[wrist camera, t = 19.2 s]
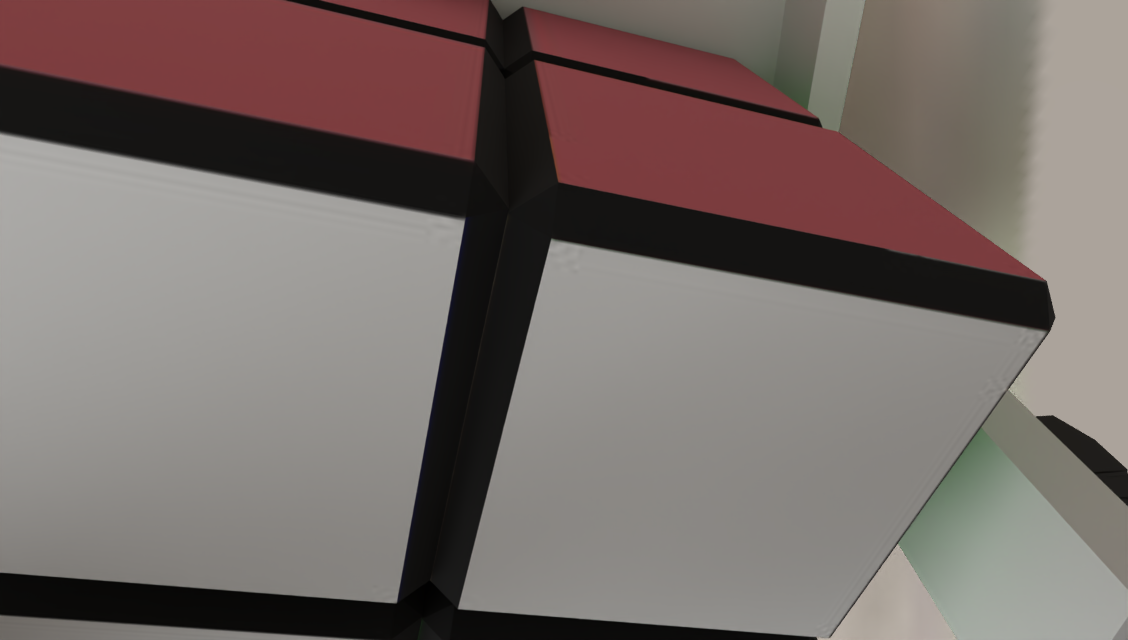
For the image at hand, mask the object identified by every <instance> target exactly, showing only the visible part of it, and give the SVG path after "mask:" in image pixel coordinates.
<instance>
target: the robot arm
mask: <svg viewBox="0 0 1128 640" xmlns="http://www.w3.org/2000/svg"><path fill="white" fill-rule="evenodd" d="M898 544H899V546H900V547H901V549H902V550H903V552H904V554H905V555H906V557H907V559H908V560H909V562H910V563H911V565H912V567H913V568H914V570H915V572H916V573H917V575H918V576H919V578H920V580H921V581H922V583H923V585H924V586H925V588H926V589H927V591H928V593H929V594H930V596H931V598H932V599H933V601H934V602H935V604H936V606H937V607H938V609H939V611H940V612H941V614H942V615H943V617H944V619H945V620H946V622H947V624H948V625H949V627H950V628H951V630H952V632H953V633H954V635H955V637H956V638H957V640H1128V473H1127V469H1126V468H1125V467H1124V466H1123V465H1122V464H1121V463H1120V462H1119V461H1118V460H1116V459H1115V458H1114V457H1113V456H1112V455H1111V454H1110V453H1109V452H1107V451H1106V450H1105V449H1104V448H1103V447H1102V446H1101V445H1100V444H1099V443H1098V442H1097V441H1096V440H1094V439H1093V438H1091V437H1089V436H1087V435H1086V434H1084V433H1082V432H1081V431H1079V430H1077V429H1075V428H1074V427H1072V426H1070V425H1069V424H1067V423H1065V422H1063V421H1062V420H1060V419H1058V418H1056V417H1055V416H1053V415H1052V416H1036V417H1035V416H1034V415H1033V414H1032V413H1031V412H1030V411H1029V410H1028V409H1027V408H1026V407H1025V406H1024V405H1023V404H1022V403H1021V402H1020V401H1019V400H1018V399H1017V398H1016V397H1015V396H1014V395H1013V394H1012V393H1011V392H1010V391H1009V390H1008V391H1007V392H1006V393H1005V395H1004V396H1003V397H1002V399H1001V400H1000V402H999V403H998V404H997V406H996V407H995V409H994V410H993V411H992V413H991V414H990V416H989V417H988V418H987V420H986V421H985V423H984V424H983V425H982V427H981V428H980V430H979V431H978V432H977V434H976V435H975V437H974V438H973V439H972V441H971V442H970V443H969V445H968V446H967V448H966V449H965V450H964V452H963V453H962V455H961V456H960V457H959V459H958V460H957V462H956V463H955V464H954V466H953V467H952V469H951V470H950V471H949V473H948V474H947V476H946V477H945V478H944V480H943V481H942V483H941V484H940V485H939V487H938V488H937V489H936V491H935V492H934V494H933V495H932V496H931V498H930V499H929V501H928V502H927V503H926V505H925V506H924V508H923V509H922V510H921V512H920V513H919V515H918V516H917V517H916V519H915V520H914V522H913V523H912V524H911V526H910V527H909V529H908V530H907V531H906V533H905V534H904V536H903V537H902V538H901V540H900V541H899V542H898Z"/></svg>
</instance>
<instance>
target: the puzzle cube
mask: <svg viewBox="0 0 1128 640" xmlns="http://www.w3.org/2000/svg"><path fill="white" fill-rule="evenodd" d="M1054 320H1055V314H1054V310H1053V306H1052V301H1051V297H1050V293H1049V289H1048V285H1047V281H1046V280H1044V279H1043V278H1041V277H1040V276H1039V275H1037V274H1036V273H1034V272H1033V271H1032V270H1030V269H1029V268H1027V267H1026V266H1025V265H1023V264H1022V263H1021V262H1019V261H1018V260H1016V259H1015V258H1014V257H1012V256H1011V255H1009V254H1008V253H1007V252H1005V251H1004V250H1002V249H1001V248H1000V247H998V246H997V245H995V244H994V243H993V242H991V241H990V240H988V239H987V238H986V237H984V236H983V235H981V234H980V233H979V232H977V231H976V230H974V229H973V228H972V227H970V226H969V225H967V224H966V223H965V222H963V221H962V220H960V219H959V218H958V217H956V216H955V215H953V214H952V213H951V212H949V211H948V210H946V209H945V208H944V207H942V206H941V205H939V204H938V203H937V202H935V201H934V200H932V199H931V198H930V197H928V196H927V195H925V194H924V193H923V192H921V191H920V190H918V189H917V188H916V187H914V186H913V185H911V184H910V183H909V182H907V181H906V180H904V179H903V178H902V177H900V176H899V175H897V174H896V173H895V172H893V171H892V170H890V169H889V168H888V167H886V166H885V165H883V164H882V163H881V162H879V161H878V160H876V159H875V158H874V157H872V156H871V155H869V154H868V153H867V152H865V151H864V150H862V149H861V148H860V147H858V146H857V145H855V144H854V143H853V142H851V141H850V140H848V139H847V138H846V137H844V136H843V135H841V134H840V133H839V132H837V131H833V130H829V129H825V128H823V127H822V124H821V122H820V119H819V118H818V117H817V116H815V115H814V114H812V113H811V112H810V111H808V110H807V109H805V108H804V107H802V106H801V105H799V104H798V103H797V102H795V101H794V100H792V99H791V98H789V97H788V96H787V95H785V94H784V93H782V92H781V91H779V90H778V89H777V88H775V87H774V86H772V85H771V84H769V83H768V82H766V81H765V80H764V79H762V78H761V77H759V76H758V75H756V74H755V73H754V72H752V71H751V70H749V69H748V68H746V67H745V66H744V65H742V64H741V63H739V62H738V61H736V60H735V59H733V58H729V57H725V56H721V55H717V54H713V53H709V52H705V51H701V50H697V49H693V48H689V47H685V46H681V45H677V44H672V43H668V42H664V41H660V40H656V39H652V38H648V37H644V36H640V35H636V34H632V33H628V32H624V31H620V30H616V29H612V28H608V27H604V26H600V25H596V24H592V23H588V22H584V21H580V20H576V19H572V18H568V17H564V16H560V15H556V14H552V13H548V12H544V11H540V10H535V9H531V8H527V7H523V6H522V7H521V8H519V9H518V10H517V11H515V12H514V13H512V14H511V15H509V16H508V17H506V18H505V19H504V20H503V19H502V18H501V16H500V14H499V13H498V11H497V10H496V8H495V6H494V5H493V3H492V1H491V0H0V640H817V637H822V638H830V637H831V636H832V634H833V633H834V632H835V630H836V629H837V628H838V626H839V625H840V623H841V622H842V621H843V619H844V618H845V616H846V615H847V614H848V612H849V611H850V609H851V608H852V607H853V605H854V604H855V602H856V601H857V600H858V598H859V597H860V595H861V594H862V593H863V591H864V590H865V588H866V587H867V586H868V584H869V583H870V582H871V580H872V579H873V577H874V576H875V575H876V573H877V572H878V570H879V569H880V568H881V566H882V565H883V563H884V562H885V561H886V559H887V558H888V556H889V555H890V554H891V552H892V551H893V549H894V548H895V547H896V545H897V544H898V542H899V541H900V540H901V538H902V537H903V536H904V534H905V533H906V531H907V530H908V529H909V527H910V526H911V524H912V523H913V522H914V520H915V519H916V517H917V516H918V515H919V513H920V512H921V510H922V509H923V508H924V506H925V505H926V503H927V502H928V501H929V499H930V498H931V496H932V495H933V494H934V492H935V491H936V489H937V488H938V487H939V485H940V484H941V483H942V481H943V480H944V478H945V477H946V476H947V474H948V473H949V471H950V470H951V469H952V467H953V466H954V464H955V463H956V462H957V460H958V459H959V457H960V456H961V455H962V453H963V452H964V450H965V449H966V448H967V446H968V445H969V443H970V442H971V441H972V439H973V438H974V437H975V435H976V434H977V432H978V431H979V430H980V428H981V427H982V425H983V424H984V423H985V421H986V420H987V418H988V417H989V416H990V414H991V413H992V411H993V410H994V409H995V407H996V406H997V404H998V403H999V402H1000V400H1001V399H1002V397H1003V396H1004V395H1005V393H1006V392H1007V391H1008V389H1009V388H1010V386H1011V385H1012V384H1013V382H1014V381H1015V379H1016V378H1017V377H1018V375H1019V374H1020V372H1021V371H1022V370H1023V368H1024V367H1025V365H1026V364H1027V363H1028V361H1029V360H1030V358H1031V357H1032V356H1033V354H1034V353H1035V351H1036V350H1037V349H1038V347H1039V346H1040V345H1041V343H1042V342H1043V340H1044V339H1045V337H1046V336H1047V335H1048V333H1049V332H1050V330H1051V327H1052V325H1053V322H1054Z"/></svg>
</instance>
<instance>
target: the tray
mask: <svg viewBox="0 0 1128 640" xmlns="http://www.w3.org/2000/svg"><path fill="white" fill-rule="evenodd" d="M491 1H492V3H493V5H494V6H495V8H496V10H497V11H498V13H499V14H500V16H501V18H502V19H503V20H504V19H505V18H506V17H508V16H509V15H511V14H512V13H514V12H515V11H517V10H518V9H519V8H521V7H522V6H523V7H527V8H531V9H535V10H540V11H544V12H548V13H552V14H556V15H560V16H564V17H568V18H572V19H576V20H580V21H584V22H588V23H592V24H596V25H600V26H604V27H608V28H612V29H616V30H620V31H624V32H628V33H632V34H636V35H640V36H644V37H648V38H652V39H656V40H660V41H664V42H668V43H672V44H677V45H681V46H685V47H689V48H693V49H697V50H701V51H705V52H709V53H713V54H717V55H721V56H725V57H729V58H733V59H735V60H736V61H738V62H739V63H741V64H742V65H744V66H745V67H746V68H748V69H749V70H751V71H752V72H754V73H755V74H756V75H758V76H759V77H761V78H762V79H764V80H765V81H766V82H768V83H769V84H771V85H772V86H774V87H775V88H777V89H778V90H779V91H781V92H782V93H784V94H785V95H787V96H788V97H789V98H791V99H792V100H794V101H795V102H797V103H798V104H799V105H801V106H802V107H804V108H805V109H807V110H808V111H810V112H811V113H812V114H814V115H815V116H817V117H818V118H819V119H820V122H821V124H822V127H823V128H825V129H829V130H833V131H837V132H839V128H840V123H841V118H842V114H843V109H844V104H845V99H846V94H847V89H848V84H849V79H850V74H851V69H852V64H853V59H854V54H855V49H856V44H857V39H858V35H859V30H860V25H861V20H862V15H863V10H864V5H865V0H491Z"/></svg>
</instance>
